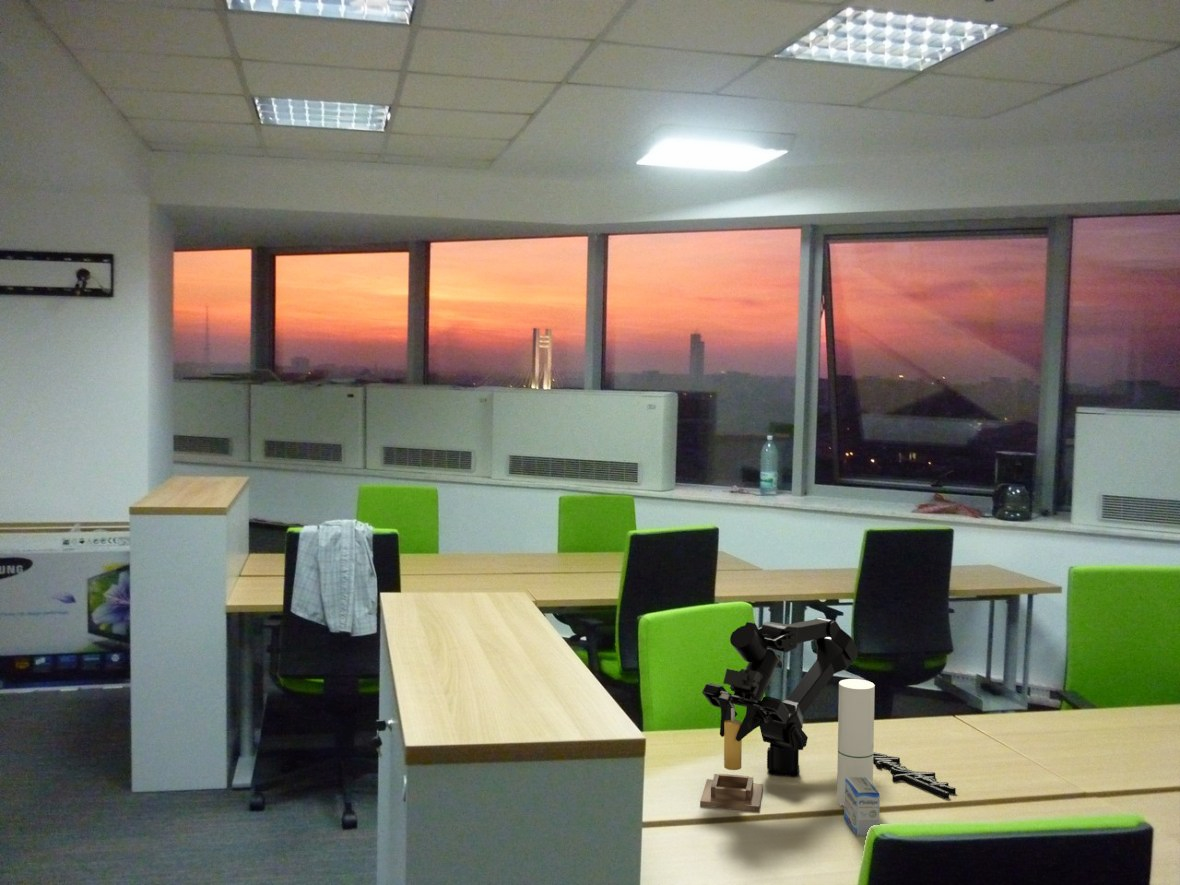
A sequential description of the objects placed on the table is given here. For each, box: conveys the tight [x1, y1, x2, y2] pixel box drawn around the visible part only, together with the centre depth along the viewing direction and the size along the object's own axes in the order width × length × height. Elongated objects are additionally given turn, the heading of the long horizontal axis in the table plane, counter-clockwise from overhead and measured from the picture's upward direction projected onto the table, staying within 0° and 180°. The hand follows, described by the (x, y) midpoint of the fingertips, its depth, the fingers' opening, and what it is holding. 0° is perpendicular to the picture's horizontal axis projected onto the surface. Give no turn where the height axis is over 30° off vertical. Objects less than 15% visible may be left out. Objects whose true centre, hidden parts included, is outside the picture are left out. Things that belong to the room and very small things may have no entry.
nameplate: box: [873, 751, 957, 800], centre depth 230 cm, size 28×2×10 cm
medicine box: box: [843, 777, 881, 837], centre depth 203 cm, size 8×4×9 cm, turn 5°
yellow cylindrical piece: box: [723, 707, 743, 771], centre depth 217 cm, size 4×4×12 cm
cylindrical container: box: [836, 678, 876, 807], centre depth 214 cm, size 7×7×25 cm
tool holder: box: [699, 773, 764, 812], centre depth 218 cm, size 12×12×3 cm
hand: (729, 738), depth 216 cm, fingers closed on yellow cylindrical piece, 4 cm apart
